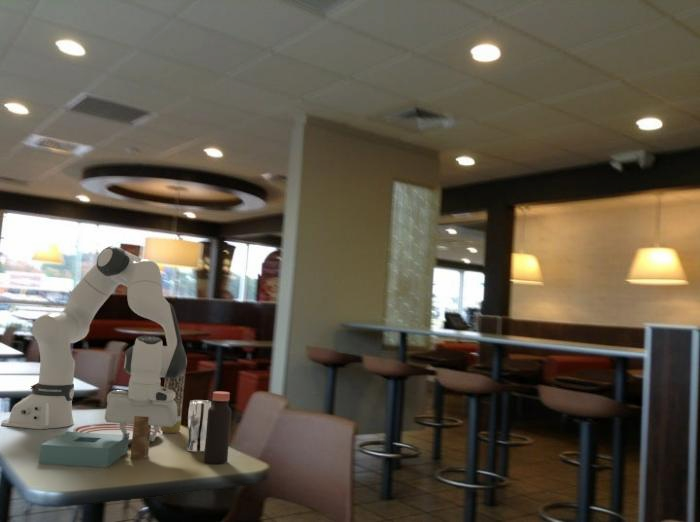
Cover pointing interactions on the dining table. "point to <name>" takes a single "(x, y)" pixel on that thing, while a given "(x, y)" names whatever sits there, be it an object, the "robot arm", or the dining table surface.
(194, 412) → the silver drink can
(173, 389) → the paper tube
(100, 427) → the dinner plate
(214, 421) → the bottle
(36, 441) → the dining table surface
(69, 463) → the socket block
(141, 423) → the walnut peg
